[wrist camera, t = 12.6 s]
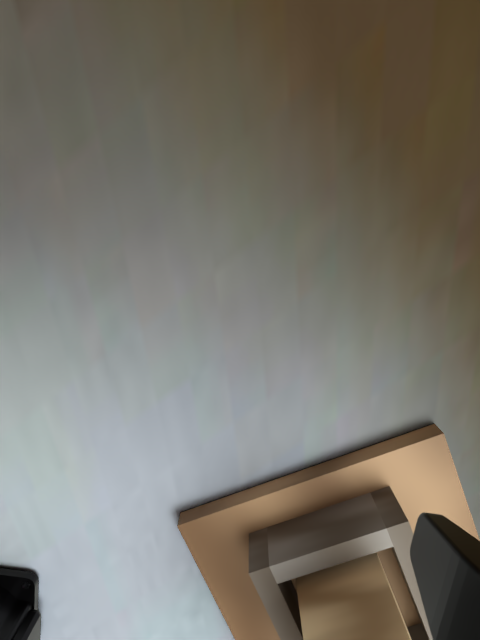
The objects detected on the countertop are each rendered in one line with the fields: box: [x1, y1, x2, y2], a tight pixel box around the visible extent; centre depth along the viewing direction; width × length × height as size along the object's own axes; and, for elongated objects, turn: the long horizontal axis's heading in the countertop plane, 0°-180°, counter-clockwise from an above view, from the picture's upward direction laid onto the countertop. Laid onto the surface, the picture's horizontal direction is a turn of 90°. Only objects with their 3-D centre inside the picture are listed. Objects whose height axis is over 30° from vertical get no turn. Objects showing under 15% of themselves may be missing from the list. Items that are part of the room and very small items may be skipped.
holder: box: [177, 424, 480, 640], centre depth 21 cm, size 14×13×4 cm
